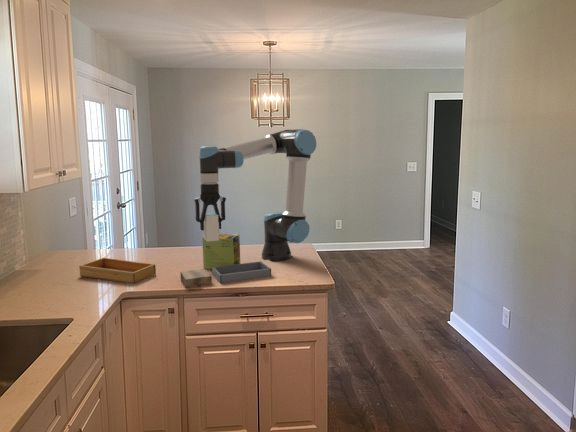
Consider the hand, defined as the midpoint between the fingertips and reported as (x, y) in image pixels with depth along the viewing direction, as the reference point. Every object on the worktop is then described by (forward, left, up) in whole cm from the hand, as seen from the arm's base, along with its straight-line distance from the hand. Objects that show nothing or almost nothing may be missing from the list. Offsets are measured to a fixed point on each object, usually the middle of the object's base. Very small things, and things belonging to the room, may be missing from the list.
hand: (211, 237), depth 208 cm
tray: (+38, -26, -20) cm, 50 cm away
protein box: (-9, -19, -20) cm, 29 cm away
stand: (+7, 0, -20) cm, 21 cm away
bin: (-13, 0, -20) cm, 24 cm away
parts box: (0, 0, -1) cm, 1 cm away
